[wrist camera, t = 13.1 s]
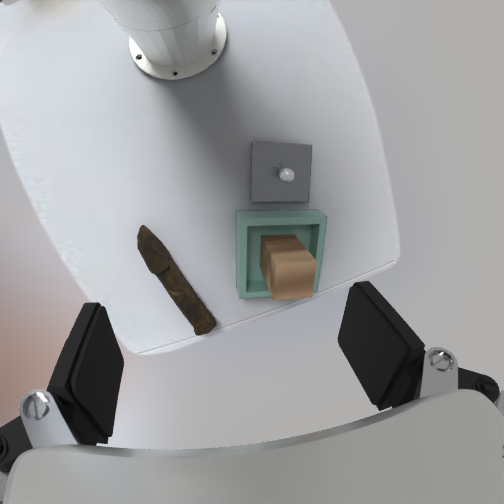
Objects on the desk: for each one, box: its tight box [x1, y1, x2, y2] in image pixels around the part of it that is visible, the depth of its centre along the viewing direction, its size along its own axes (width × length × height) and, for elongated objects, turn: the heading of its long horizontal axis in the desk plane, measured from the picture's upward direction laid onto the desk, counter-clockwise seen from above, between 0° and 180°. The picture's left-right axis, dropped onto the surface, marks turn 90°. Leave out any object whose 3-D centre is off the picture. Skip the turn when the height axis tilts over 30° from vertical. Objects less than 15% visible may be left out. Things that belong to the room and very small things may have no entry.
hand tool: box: [137, 225, 216, 336], centre depth 40 cm, size 19×4×5 cm, turn 22°
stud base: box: [251, 142, 312, 202], centre depth 36 cm, size 8×8×4 cm
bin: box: [236, 210, 327, 299], centre depth 41 cm, size 12×12×4 cm
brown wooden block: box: [260, 234, 317, 300], centre depth 38 cm, size 5×5×9 cm
